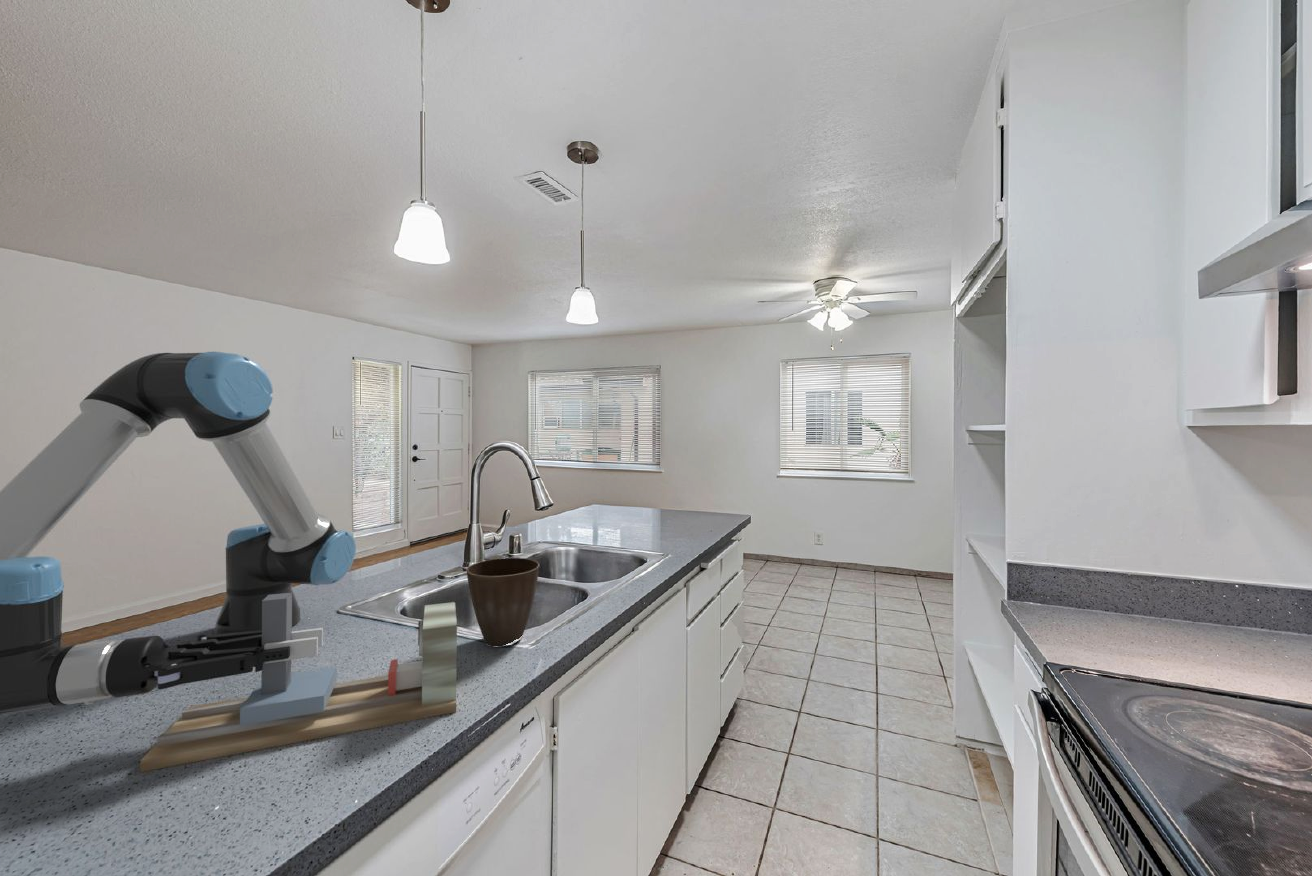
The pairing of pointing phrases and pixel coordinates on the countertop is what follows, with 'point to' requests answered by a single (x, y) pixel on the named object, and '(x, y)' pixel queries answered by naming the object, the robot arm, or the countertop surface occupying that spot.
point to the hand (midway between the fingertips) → (319, 641)
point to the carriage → (285, 674)
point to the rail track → (346, 710)
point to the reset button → (404, 676)
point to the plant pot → (502, 597)
